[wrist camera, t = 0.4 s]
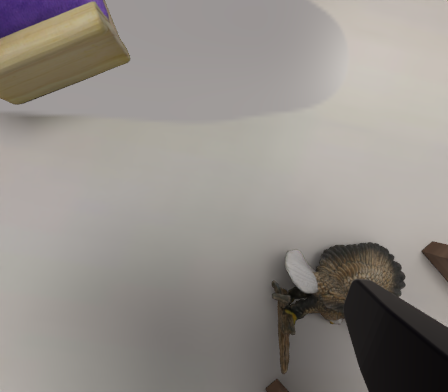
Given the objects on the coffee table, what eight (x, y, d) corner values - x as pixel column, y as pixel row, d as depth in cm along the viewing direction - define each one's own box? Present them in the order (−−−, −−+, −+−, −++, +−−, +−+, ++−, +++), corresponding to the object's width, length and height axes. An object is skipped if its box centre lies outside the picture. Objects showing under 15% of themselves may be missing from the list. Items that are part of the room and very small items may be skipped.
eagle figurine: (285, 381, 23) (436, 374, 22) (274, 367, 17) (480, 356, 16) (274, 268, 27) (400, 255, 26) (261, 225, 21) (424, 206, 20)
